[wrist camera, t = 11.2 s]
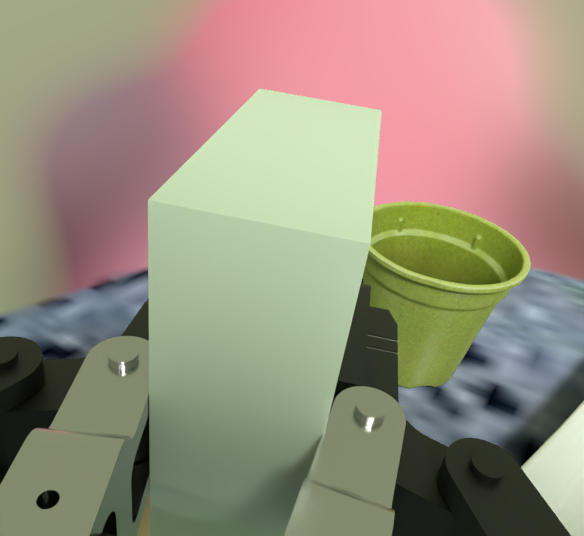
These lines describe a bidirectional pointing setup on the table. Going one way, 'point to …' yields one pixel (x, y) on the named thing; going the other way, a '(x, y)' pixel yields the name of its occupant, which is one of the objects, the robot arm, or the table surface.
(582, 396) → the table surface
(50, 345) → the table surface
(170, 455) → the pale green block
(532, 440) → the table surface
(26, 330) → the table surface
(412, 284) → the plant pot
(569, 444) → the salad plate
